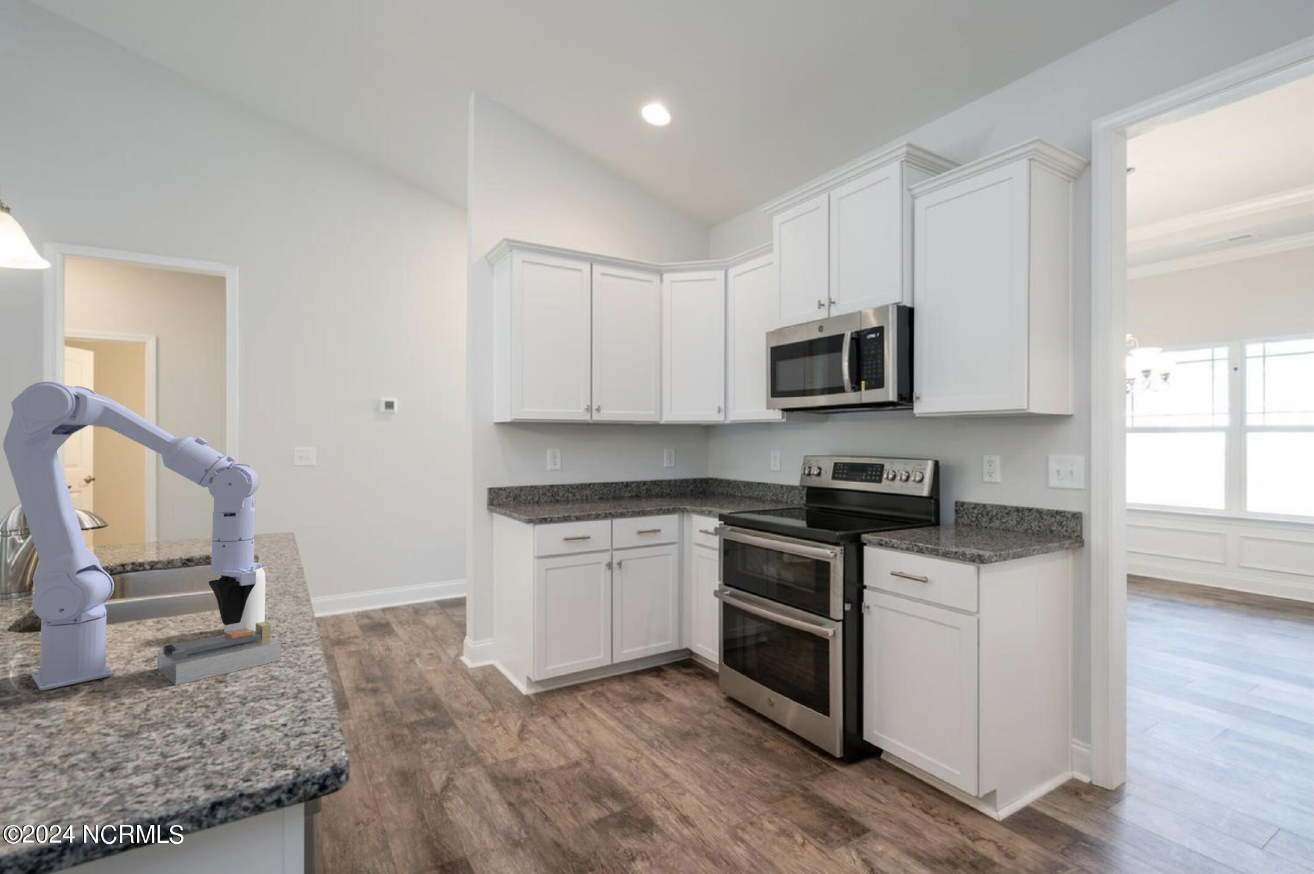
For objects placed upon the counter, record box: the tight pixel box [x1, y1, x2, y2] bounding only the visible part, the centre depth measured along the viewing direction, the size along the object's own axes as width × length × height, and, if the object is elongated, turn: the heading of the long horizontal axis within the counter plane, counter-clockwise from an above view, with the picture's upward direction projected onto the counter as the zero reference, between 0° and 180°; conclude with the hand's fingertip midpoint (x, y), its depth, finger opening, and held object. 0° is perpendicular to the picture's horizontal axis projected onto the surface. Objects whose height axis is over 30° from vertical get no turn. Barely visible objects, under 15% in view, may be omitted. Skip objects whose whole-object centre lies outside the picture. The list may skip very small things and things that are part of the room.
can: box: [223, 564, 266, 633], centre depth 118 cm, size 6×6×12 cm
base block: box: [156, 621, 282, 686], centre depth 100 cm, size 10×14×5 cm
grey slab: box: [171, 628, 261, 654], centre depth 100 cm, size 4×11×1 cm, turn 141°
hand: (231, 623), depth 101 cm, fingers closed
